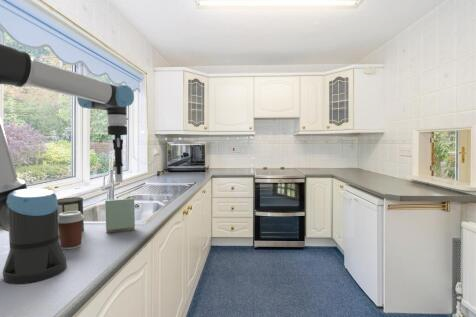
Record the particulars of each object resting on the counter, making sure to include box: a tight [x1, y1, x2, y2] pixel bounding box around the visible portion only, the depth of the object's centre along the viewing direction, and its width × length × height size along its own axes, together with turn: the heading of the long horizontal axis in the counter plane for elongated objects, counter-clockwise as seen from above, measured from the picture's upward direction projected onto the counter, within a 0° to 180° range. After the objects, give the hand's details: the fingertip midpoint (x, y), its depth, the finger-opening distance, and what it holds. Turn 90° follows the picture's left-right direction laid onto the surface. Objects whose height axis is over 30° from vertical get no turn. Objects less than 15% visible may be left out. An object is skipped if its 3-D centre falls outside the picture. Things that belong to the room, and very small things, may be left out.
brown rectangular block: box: [105, 226, 136, 234], centre depth 126 cm, size 2×11×6 cm, turn 114°
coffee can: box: [57, 196, 85, 238], centre depth 122 cm, size 10×10×14 cm
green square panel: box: [104, 197, 136, 231], centre depth 124 cm, size 1×11×12 cm, turn 114°
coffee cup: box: [58, 211, 85, 251], centre depth 107 cm, size 9×9×12 cm
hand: (118, 181), depth 127 cm, fingers closed
